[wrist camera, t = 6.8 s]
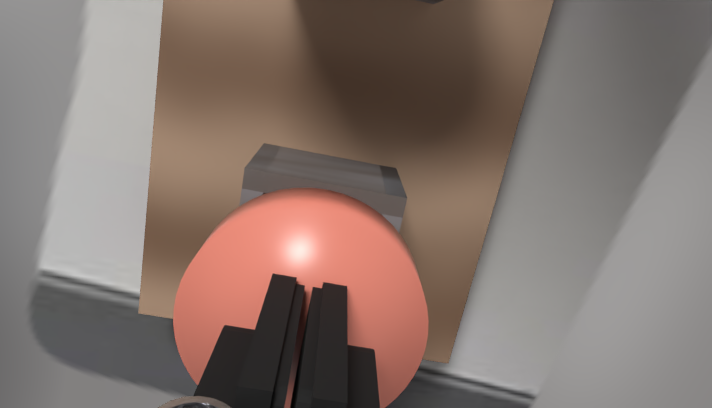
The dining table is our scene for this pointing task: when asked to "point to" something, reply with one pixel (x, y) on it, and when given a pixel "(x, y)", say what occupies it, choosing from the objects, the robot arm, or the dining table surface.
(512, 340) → the dining table surface
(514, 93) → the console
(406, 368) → the red button
